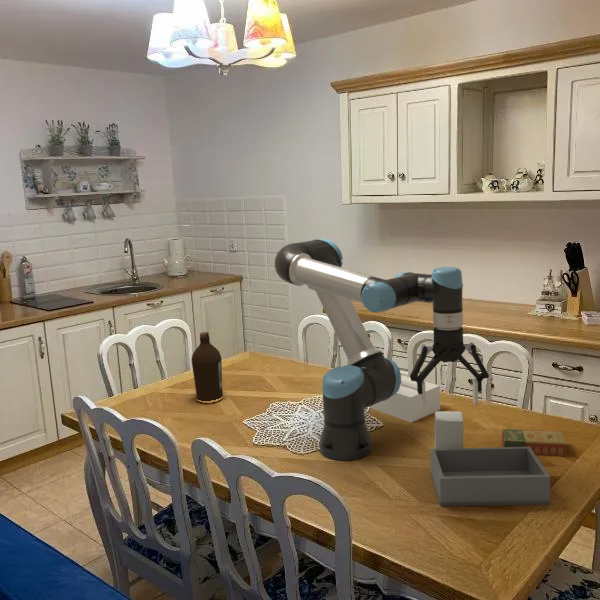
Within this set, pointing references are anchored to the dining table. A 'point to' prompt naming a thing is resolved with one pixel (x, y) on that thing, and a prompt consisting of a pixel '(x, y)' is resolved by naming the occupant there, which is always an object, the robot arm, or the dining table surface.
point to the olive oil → (207, 370)
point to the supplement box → (448, 430)
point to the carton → (535, 441)
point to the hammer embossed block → (410, 401)
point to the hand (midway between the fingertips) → (449, 404)
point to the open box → (489, 477)
